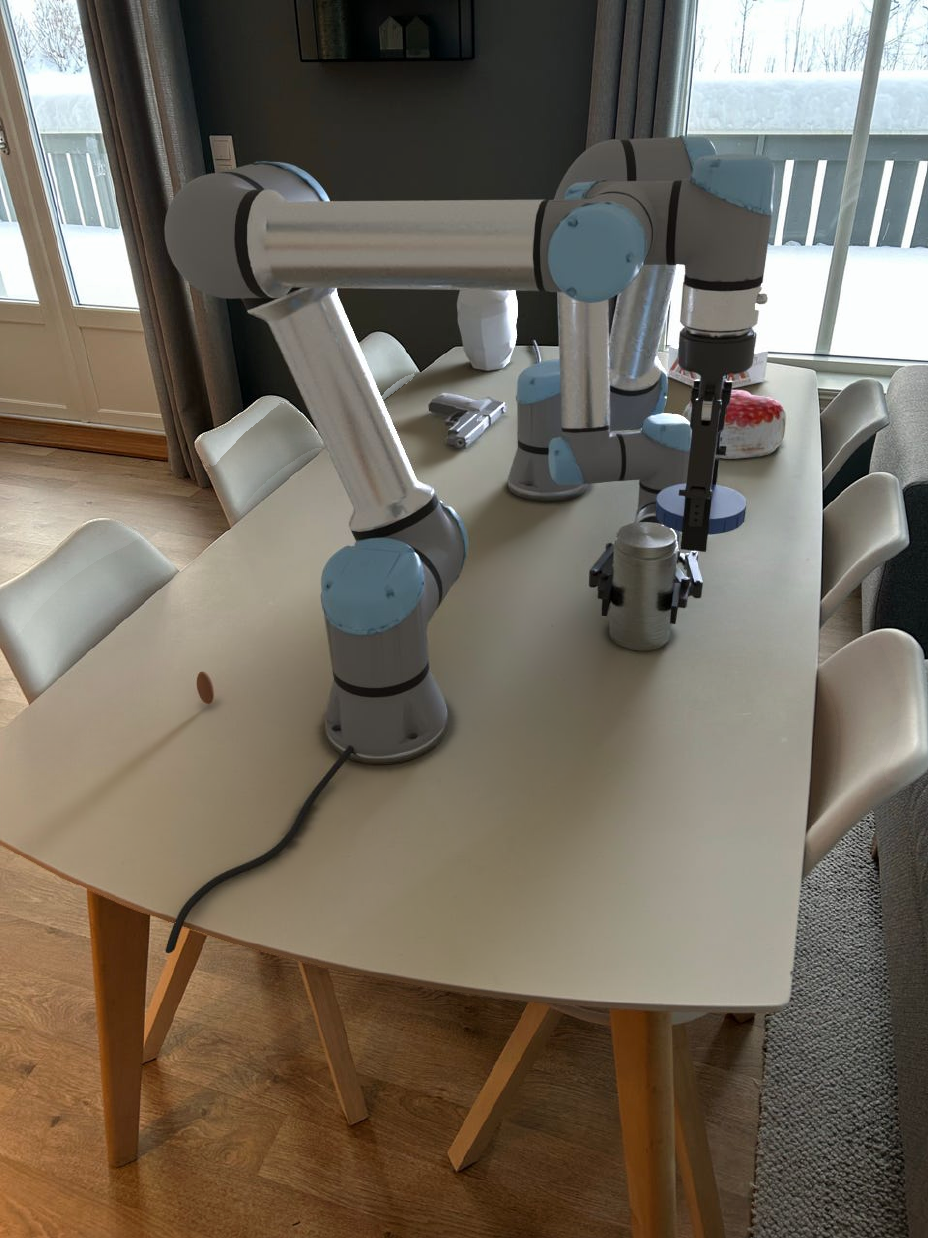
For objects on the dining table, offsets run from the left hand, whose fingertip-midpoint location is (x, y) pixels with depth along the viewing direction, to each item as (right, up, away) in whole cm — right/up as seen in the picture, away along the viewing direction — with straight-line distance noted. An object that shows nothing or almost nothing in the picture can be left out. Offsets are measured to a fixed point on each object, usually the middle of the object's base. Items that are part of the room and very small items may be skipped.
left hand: (697, 528), depth 102 cm
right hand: (-3, -9, +20) cm, 22 cm away
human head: (-19, +59, +143) cm, 156 cm away
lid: (0, +3, -2) cm, 3 cm away
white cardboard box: (+37, +50, +125) cm, 140 cm away
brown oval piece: (-60, -21, +17) cm, 66 cm away
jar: (-1, -12, +27) cm, 30 cm away
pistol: (-29, +33, +103) cm, 112 cm away
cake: (+30, +28, +90) cm, 99 cm away
